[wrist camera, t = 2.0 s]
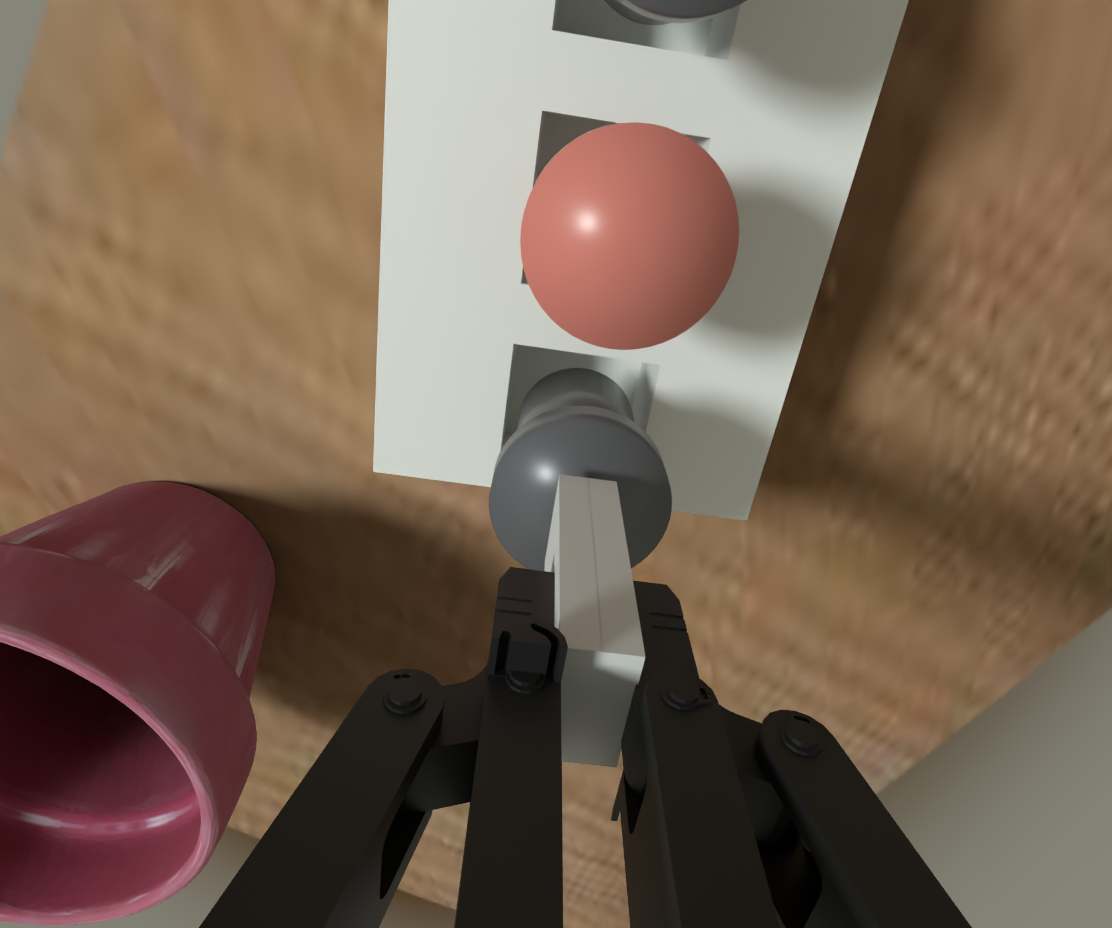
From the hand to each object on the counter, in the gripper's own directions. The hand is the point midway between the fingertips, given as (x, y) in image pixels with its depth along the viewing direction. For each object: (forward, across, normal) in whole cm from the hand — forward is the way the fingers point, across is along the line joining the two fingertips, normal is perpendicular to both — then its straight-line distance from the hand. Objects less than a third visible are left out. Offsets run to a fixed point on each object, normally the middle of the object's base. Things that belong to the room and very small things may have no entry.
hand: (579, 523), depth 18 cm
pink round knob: (+7, 0, +7) cm, 10 cm away
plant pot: (+12, -17, -12) cm, 24 cm away
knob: (+7, 0, 0) cm, 7 cm away
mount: (+12, 0, +7) cm, 14 cm away
